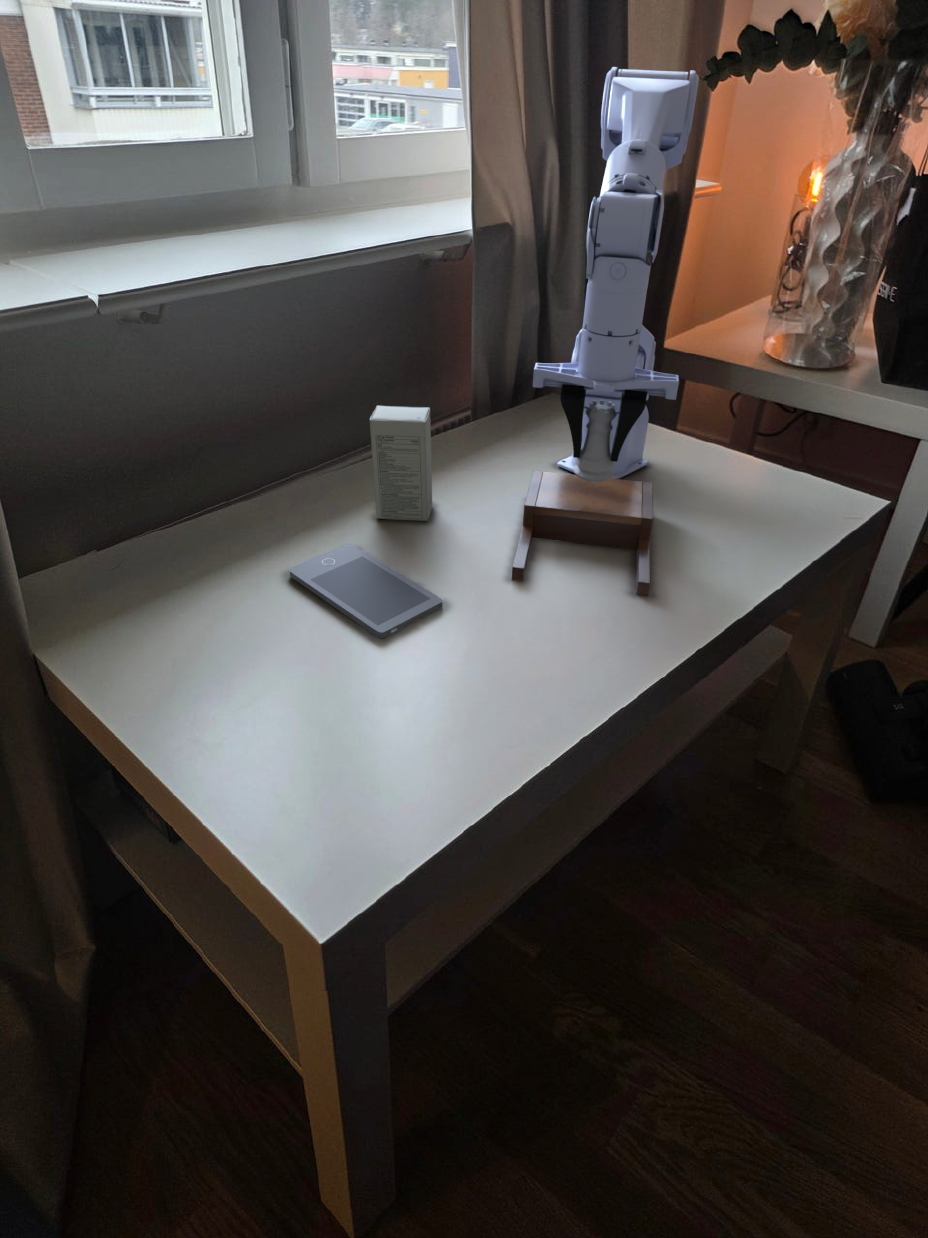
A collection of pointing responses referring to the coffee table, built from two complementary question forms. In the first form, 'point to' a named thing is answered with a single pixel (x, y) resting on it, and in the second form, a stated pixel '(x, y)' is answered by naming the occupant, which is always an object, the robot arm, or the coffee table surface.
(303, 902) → the coffee table surface
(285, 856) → the coffee table surface
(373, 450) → the cosmetic box
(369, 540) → the coffee table surface
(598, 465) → the rook chess piece
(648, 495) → the brown u-shaped piece
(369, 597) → the smartphone
